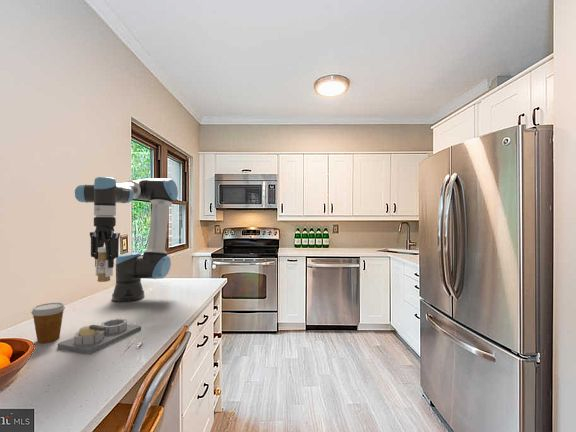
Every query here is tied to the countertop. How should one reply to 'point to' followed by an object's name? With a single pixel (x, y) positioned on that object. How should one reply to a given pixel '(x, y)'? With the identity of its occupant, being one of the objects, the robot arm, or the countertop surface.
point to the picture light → (129, 346)
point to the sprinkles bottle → (102, 265)
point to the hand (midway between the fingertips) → (104, 275)
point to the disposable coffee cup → (48, 321)
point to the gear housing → (99, 336)
